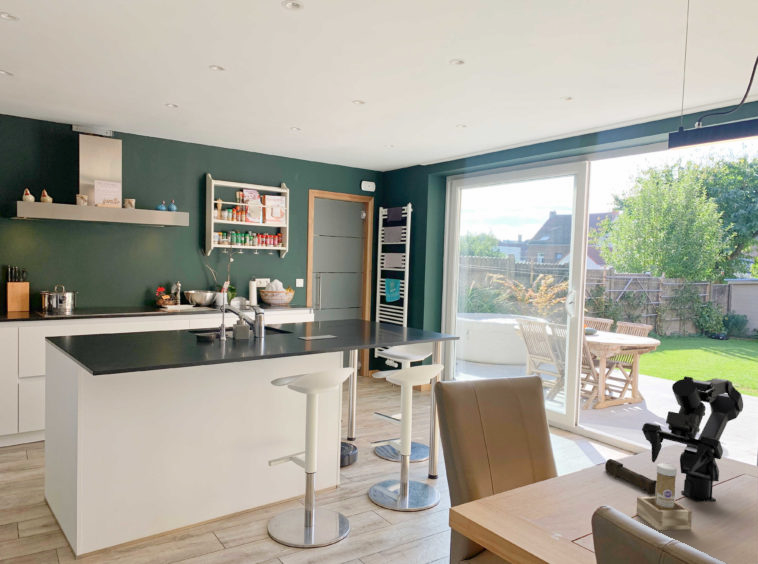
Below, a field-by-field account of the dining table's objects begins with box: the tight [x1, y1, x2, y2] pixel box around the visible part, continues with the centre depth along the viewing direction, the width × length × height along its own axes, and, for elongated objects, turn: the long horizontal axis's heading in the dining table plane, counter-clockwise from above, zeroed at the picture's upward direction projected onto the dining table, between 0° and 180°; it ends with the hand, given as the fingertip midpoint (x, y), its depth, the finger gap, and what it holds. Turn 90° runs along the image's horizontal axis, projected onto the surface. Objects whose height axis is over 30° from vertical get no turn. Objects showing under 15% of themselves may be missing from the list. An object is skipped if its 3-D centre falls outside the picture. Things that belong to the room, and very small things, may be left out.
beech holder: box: [635, 496, 693, 531], centre depth 142 cm, size 9×9×4 cm
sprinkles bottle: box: [654, 462, 678, 510], centre depth 142 cm, size 5×5×14 cm
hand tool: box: [604, 458, 657, 495], centre depth 169 cm, size 19×4×5 cm, turn 20°
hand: (671, 466), depth 144 cm, fingers open, 9 cm apart
